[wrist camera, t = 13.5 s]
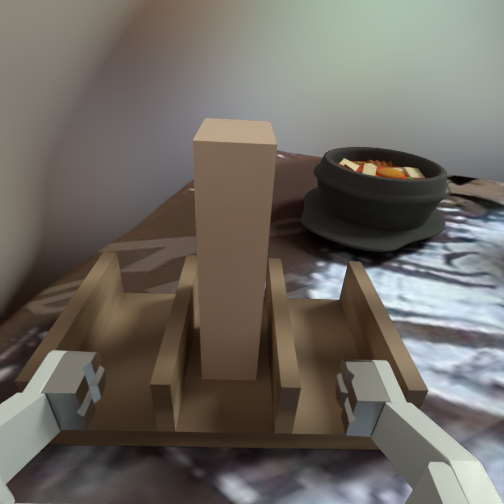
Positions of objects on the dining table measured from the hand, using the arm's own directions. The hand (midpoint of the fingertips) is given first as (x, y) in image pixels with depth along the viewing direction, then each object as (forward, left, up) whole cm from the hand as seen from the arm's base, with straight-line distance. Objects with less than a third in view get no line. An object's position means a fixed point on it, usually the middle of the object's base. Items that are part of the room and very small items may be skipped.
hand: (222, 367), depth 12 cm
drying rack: (-3, -8, -10) cm, 14 cm away
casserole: (-29, -26, -11) cm, 41 cm away
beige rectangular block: (-3, -8, -9) cm, 13 cm away
